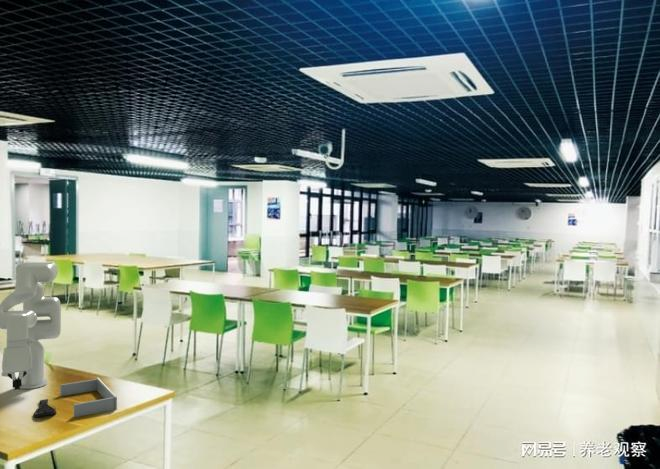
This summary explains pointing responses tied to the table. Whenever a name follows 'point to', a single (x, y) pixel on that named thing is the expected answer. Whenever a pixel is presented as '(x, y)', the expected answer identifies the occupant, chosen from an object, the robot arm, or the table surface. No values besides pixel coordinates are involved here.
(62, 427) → the table surface
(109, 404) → the box
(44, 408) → the hairbrush
